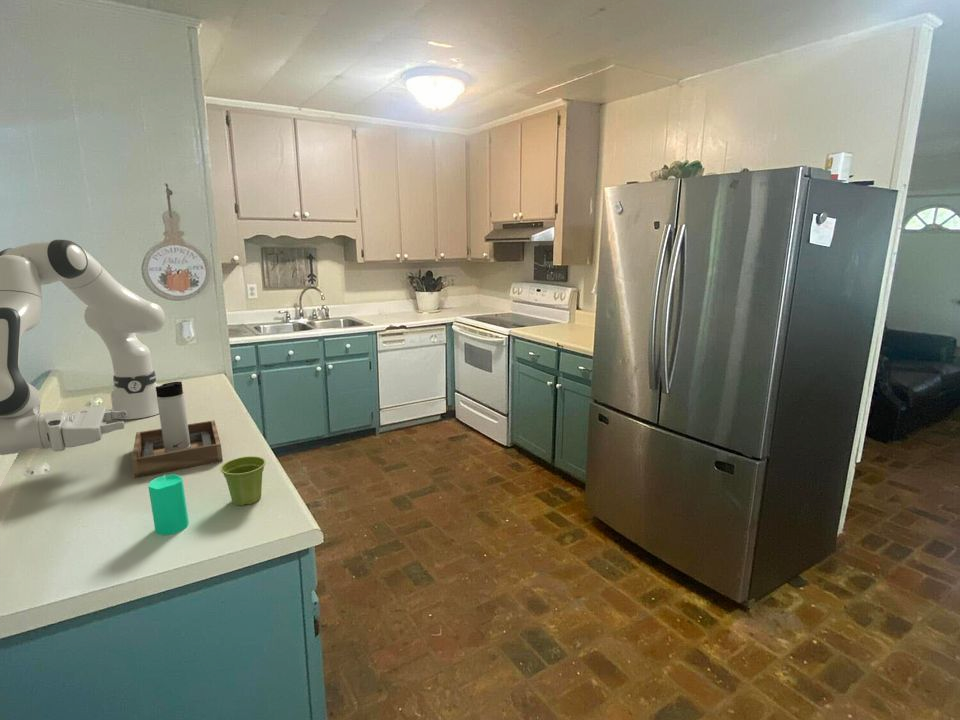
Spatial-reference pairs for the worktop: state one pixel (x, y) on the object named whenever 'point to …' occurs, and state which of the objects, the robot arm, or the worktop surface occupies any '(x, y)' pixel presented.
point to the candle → (168, 504)
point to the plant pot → (244, 478)
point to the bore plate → (159, 443)
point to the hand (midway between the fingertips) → (125, 419)
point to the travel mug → (173, 416)
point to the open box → (175, 452)
